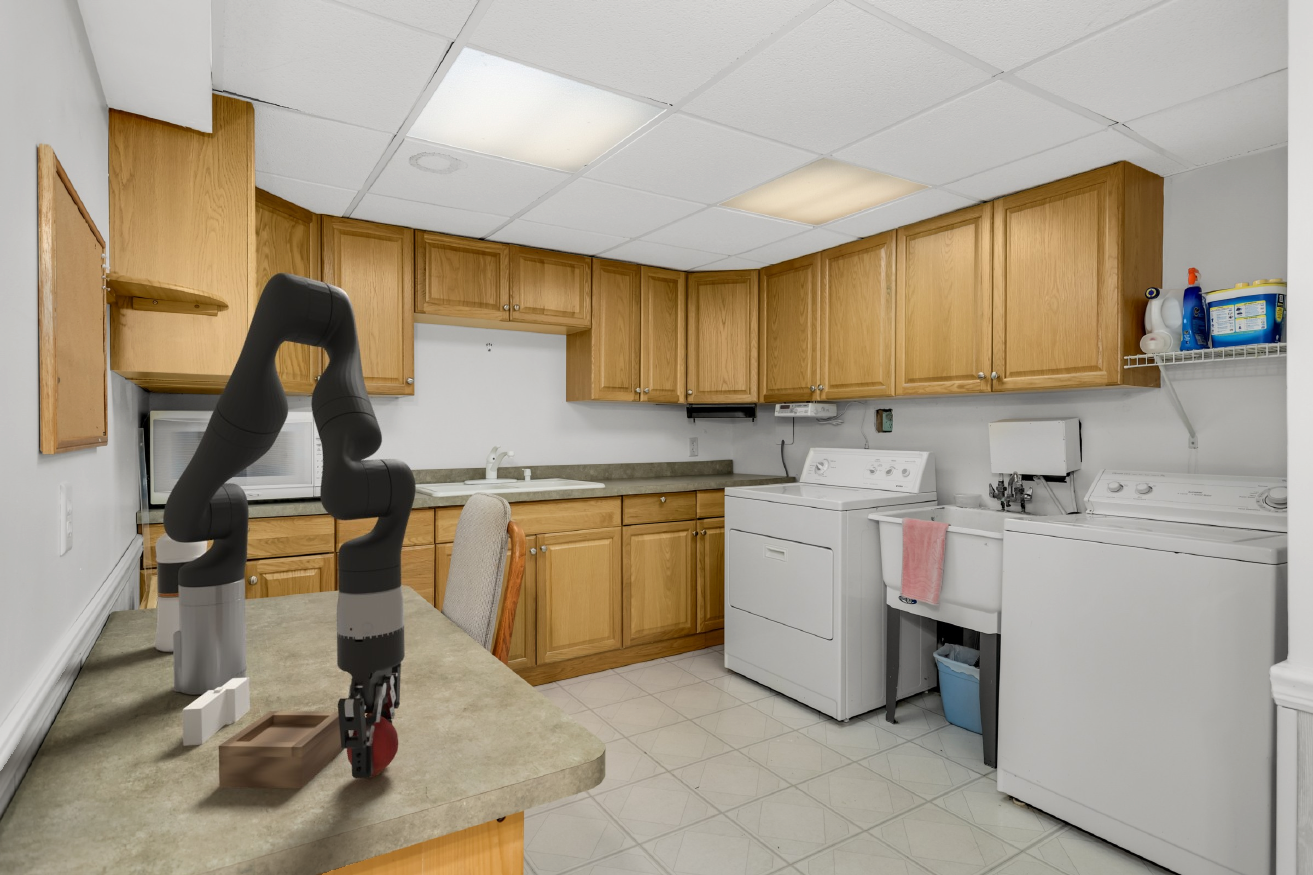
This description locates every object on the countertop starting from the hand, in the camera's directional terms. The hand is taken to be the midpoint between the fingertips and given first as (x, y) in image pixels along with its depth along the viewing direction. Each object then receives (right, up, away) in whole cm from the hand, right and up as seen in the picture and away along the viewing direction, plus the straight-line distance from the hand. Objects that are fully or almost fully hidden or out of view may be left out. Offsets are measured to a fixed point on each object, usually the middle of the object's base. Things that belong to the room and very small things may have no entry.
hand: (373, 762), depth 83 cm
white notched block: (-28, -2, +15) cm, 32 cm away
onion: (0, -2, 0) cm, 2 cm away
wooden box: (-12, -2, +3) cm, 13 cm away
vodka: (-59, -2, +52) cm, 79 cm away
